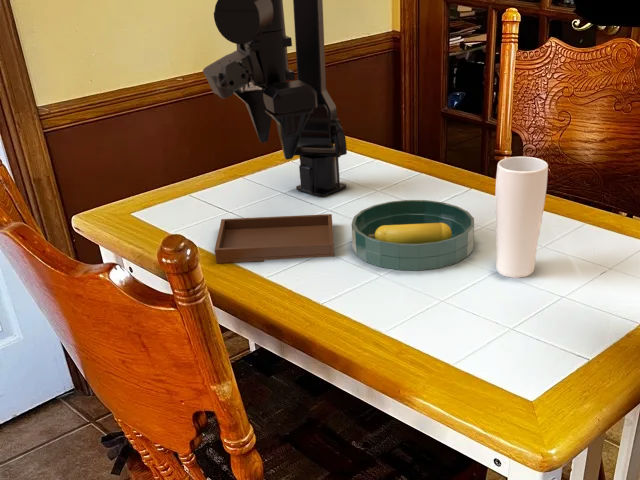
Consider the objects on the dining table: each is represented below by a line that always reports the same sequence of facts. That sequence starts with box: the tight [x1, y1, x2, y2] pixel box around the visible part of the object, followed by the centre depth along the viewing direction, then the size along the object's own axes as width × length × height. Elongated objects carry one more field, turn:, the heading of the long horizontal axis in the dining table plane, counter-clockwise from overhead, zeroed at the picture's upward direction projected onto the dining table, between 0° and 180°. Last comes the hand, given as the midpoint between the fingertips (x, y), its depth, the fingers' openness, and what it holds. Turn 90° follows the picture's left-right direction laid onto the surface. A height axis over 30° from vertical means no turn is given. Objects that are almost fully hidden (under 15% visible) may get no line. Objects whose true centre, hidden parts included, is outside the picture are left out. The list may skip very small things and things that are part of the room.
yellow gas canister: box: [368, 223, 452, 244], centre depth 125 cm, size 12×3×3 cm, turn 95°
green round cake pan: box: [350, 199, 475, 271], centre depth 125 cm, size 18×18×4 cm
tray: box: [214, 213, 335, 264], centre depth 127 cm, size 17×12×2 cm
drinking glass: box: [494, 155, 549, 279], centre depth 115 cm, size 7×7×15 cm
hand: (276, 150), depth 120 cm, fingers open, 9 cm apart
